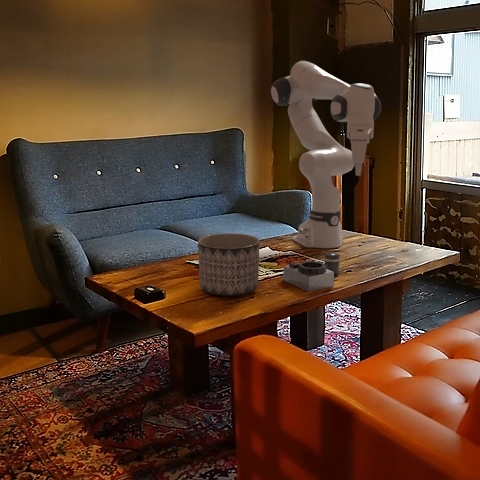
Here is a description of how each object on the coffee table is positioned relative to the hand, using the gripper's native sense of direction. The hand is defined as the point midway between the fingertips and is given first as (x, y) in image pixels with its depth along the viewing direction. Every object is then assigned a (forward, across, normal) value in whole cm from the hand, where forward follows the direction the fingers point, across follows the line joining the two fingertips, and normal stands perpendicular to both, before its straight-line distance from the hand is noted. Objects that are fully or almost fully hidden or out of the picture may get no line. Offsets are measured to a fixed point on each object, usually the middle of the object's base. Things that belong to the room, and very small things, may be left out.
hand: (358, 173), depth 213 cm
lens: (+34, +9, -8) cm, 36 cm away
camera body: (+34, +21, -14) cm, 42 cm away
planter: (+34, +33, -38) cm, 61 cm away
